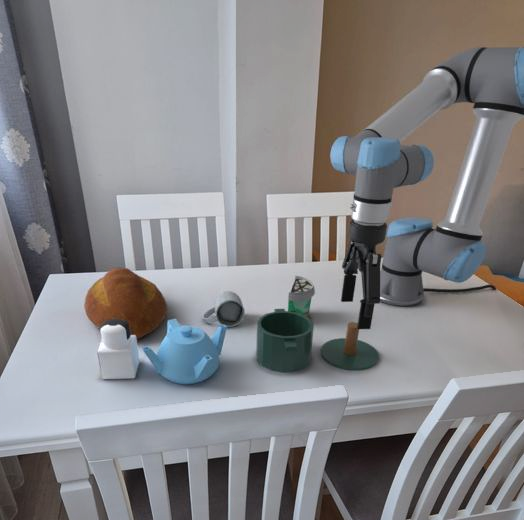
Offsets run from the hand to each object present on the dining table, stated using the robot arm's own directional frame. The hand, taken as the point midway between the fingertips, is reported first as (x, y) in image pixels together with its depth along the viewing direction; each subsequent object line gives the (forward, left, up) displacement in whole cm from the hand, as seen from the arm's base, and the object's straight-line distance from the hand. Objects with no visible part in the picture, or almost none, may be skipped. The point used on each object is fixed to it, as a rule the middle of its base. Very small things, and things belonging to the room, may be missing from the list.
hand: (354, 314), depth 108 cm
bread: (+55, -25, -12) cm, 61 cm away
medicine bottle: (+53, +2, -12) cm, 54 cm away
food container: (+8, -20, -12) cm, 25 cm away
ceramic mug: (+29, -20, -12) cm, 37 cm away
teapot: (+38, +3, -12) cm, 40 cm away
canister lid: (0, 0, -11) cm, 11 cm away
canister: (+16, 0, -12) cm, 20 cm away
